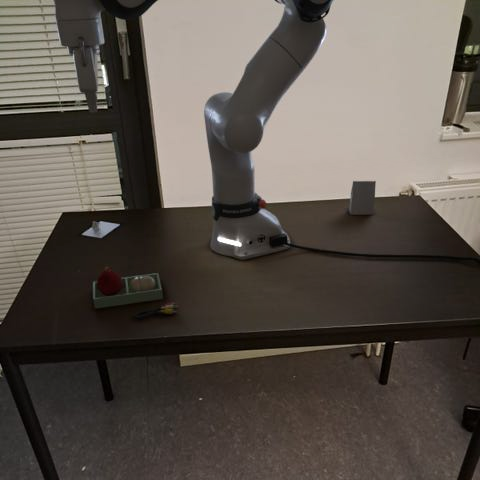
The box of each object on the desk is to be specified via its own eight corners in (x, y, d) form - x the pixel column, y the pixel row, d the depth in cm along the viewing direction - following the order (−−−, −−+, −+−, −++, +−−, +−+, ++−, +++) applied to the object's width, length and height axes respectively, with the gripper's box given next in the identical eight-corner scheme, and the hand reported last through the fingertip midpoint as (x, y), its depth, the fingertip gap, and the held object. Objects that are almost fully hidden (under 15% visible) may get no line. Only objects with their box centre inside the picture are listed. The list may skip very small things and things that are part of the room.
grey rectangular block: (372, 214, 159) (376, 183, 154) (350, 214, 160) (354, 183, 154) (370, 209, 162) (374, 179, 157) (349, 209, 163) (352, 179, 157)
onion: (118, 304, 120) (113, 274, 116) (96, 302, 122) (89, 272, 117) (128, 291, 125) (122, 262, 120) (106, 289, 126) (100, 260, 122)
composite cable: (135, 321, 115) (133, 312, 114) (136, 309, 119) (135, 300, 118) (179, 318, 116) (178, 309, 114) (179, 306, 120) (178, 297, 118)
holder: (159, 282, 129) (158, 272, 127) (163, 299, 122) (161, 289, 121) (95, 291, 126) (92, 281, 124) (95, 309, 120) (92, 299, 118)
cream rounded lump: (155, 286, 127) (153, 271, 124) (157, 294, 124) (155, 279, 121) (131, 289, 126) (128, 274, 123) (132, 298, 122) (129, 283, 120)
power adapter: (91, 231, 154) (89, 222, 152) (96, 228, 156) (94, 218, 154) (100, 233, 153) (98, 223, 151) (105, 229, 155) (103, 220, 153)
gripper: (97, 40, 96) (109, 117, 104) (97, 28, 112) (107, 96, 120) (62, 42, 95) (77, 119, 103) (67, 30, 111) (80, 97, 119)
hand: (93, 106), depth 112 cm, fingers open, 8 cm apart
